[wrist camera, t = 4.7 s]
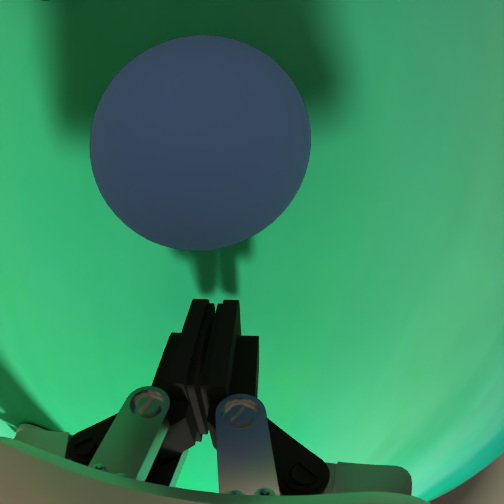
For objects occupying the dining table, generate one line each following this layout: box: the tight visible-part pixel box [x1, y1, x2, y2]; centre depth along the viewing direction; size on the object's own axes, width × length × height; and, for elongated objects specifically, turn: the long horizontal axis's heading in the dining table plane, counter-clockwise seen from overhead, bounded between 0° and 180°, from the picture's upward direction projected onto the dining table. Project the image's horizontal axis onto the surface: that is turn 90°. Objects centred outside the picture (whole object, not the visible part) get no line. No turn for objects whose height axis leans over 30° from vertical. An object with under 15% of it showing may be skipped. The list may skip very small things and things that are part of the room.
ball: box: [90, 35, 311, 251], centre depth 7 cm, size 6×6×6 cm
